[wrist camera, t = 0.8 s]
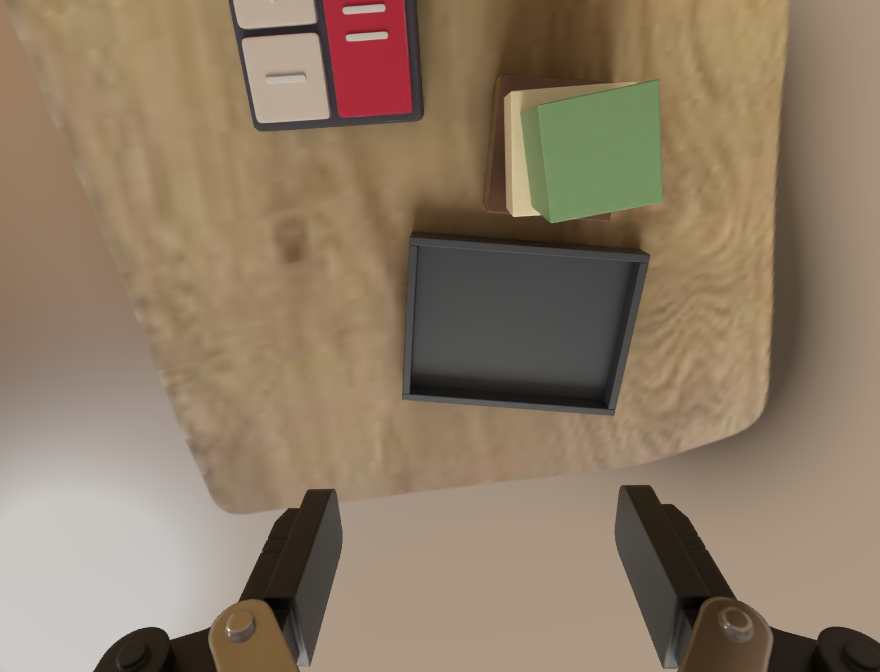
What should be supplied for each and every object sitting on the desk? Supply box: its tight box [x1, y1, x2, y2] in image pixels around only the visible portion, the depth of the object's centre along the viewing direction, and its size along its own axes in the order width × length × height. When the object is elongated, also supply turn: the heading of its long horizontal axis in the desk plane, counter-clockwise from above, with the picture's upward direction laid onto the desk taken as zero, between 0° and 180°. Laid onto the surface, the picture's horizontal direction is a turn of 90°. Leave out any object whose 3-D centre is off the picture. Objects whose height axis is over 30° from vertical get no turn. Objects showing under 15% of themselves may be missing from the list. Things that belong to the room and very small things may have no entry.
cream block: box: [504, 81, 637, 217], centre depth 29 cm, size 6×6×4 cm
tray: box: [402, 232, 650, 416], centre depth 39 cm, size 13×17×2 cm
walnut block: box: [483, 74, 614, 221], centre depth 33 cm, size 8×8×4 cm
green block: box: [520, 79, 663, 223], centre depth 24 cm, size 5×5×6 cm
